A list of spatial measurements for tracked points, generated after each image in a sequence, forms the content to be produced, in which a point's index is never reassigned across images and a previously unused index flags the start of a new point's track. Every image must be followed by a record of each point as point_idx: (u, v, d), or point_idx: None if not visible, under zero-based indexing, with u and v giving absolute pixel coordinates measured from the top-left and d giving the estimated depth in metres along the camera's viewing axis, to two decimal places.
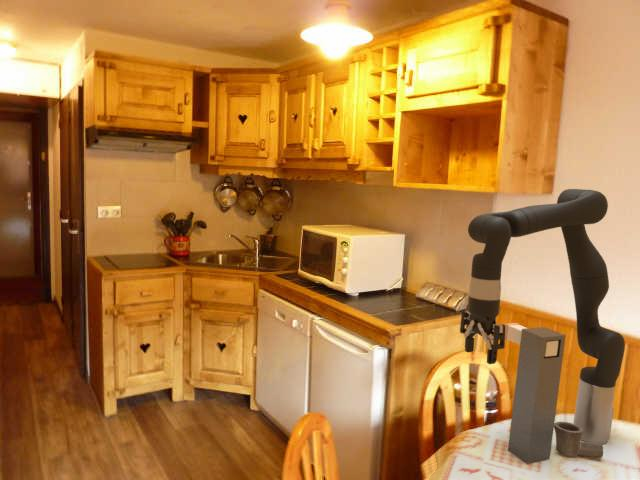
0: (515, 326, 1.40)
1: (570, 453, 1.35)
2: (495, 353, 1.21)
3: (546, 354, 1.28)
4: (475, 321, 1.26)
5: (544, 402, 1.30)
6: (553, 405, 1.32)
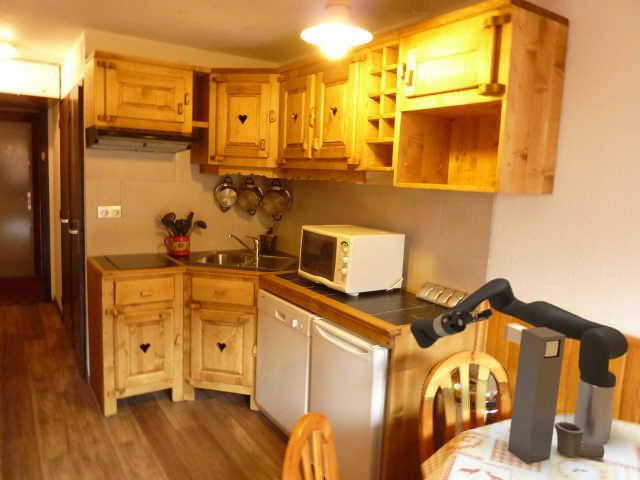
0: (515, 326, 1.40)
1: (571, 453, 1.35)
2: (460, 314, 1.54)
3: (546, 354, 1.28)
4: (465, 323, 1.61)
5: (544, 402, 1.30)
6: (553, 405, 1.32)
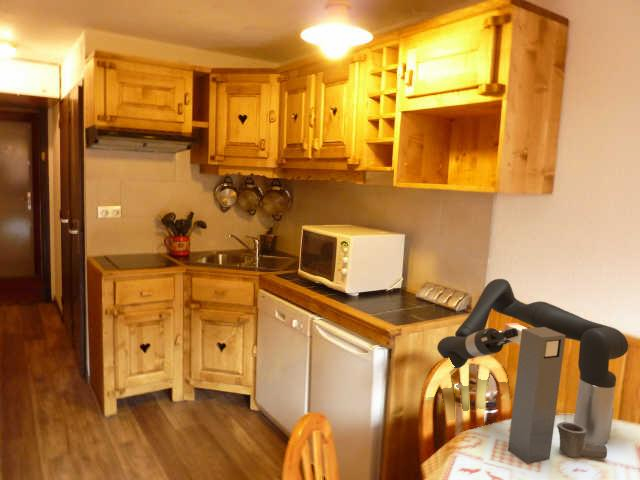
0: (515, 326, 1.40)
1: (574, 453, 1.35)
2: (506, 333, 1.39)
3: (546, 354, 1.28)
4: (502, 343, 1.46)
5: (544, 402, 1.30)
6: (553, 405, 1.32)
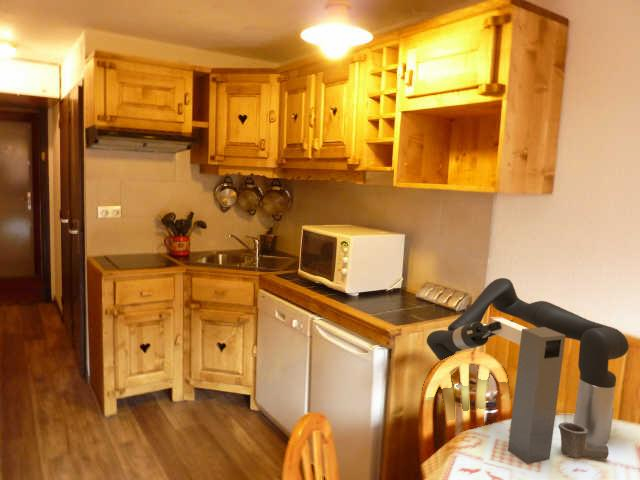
0: (499, 319, 1.46)
1: (575, 453, 1.35)
2: (490, 326, 1.45)
3: None
4: None
5: (544, 402, 1.30)
6: (553, 405, 1.32)
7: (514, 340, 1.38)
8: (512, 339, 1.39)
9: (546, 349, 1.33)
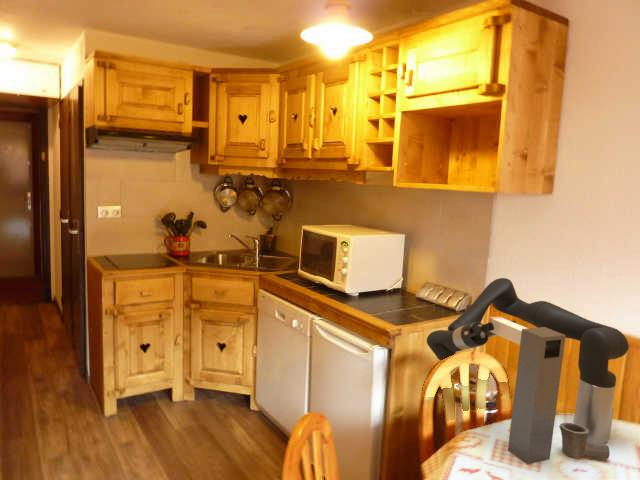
0: (499, 319, 1.46)
1: (576, 454, 1.35)
2: (483, 327, 1.45)
3: None
4: (487, 336, 1.52)
5: (544, 402, 1.30)
6: (553, 405, 1.32)
7: (514, 340, 1.38)
8: (512, 339, 1.39)
9: (546, 349, 1.33)
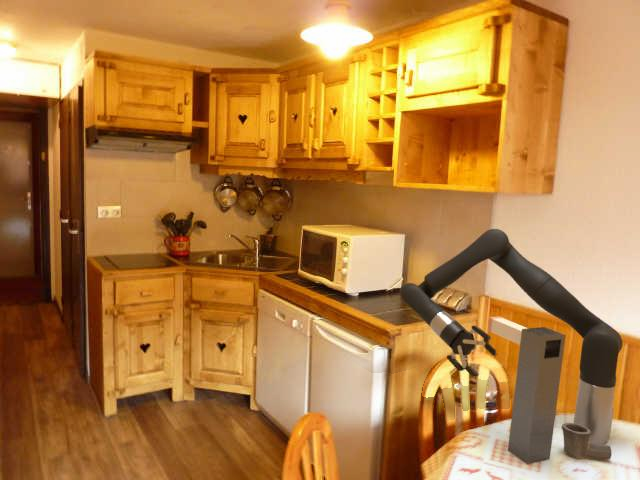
0: (499, 319, 1.46)
1: (578, 454, 1.35)
2: None
3: None
4: None
5: (544, 402, 1.30)
6: (553, 405, 1.32)
7: (514, 340, 1.38)
8: (512, 339, 1.39)
9: (546, 349, 1.33)
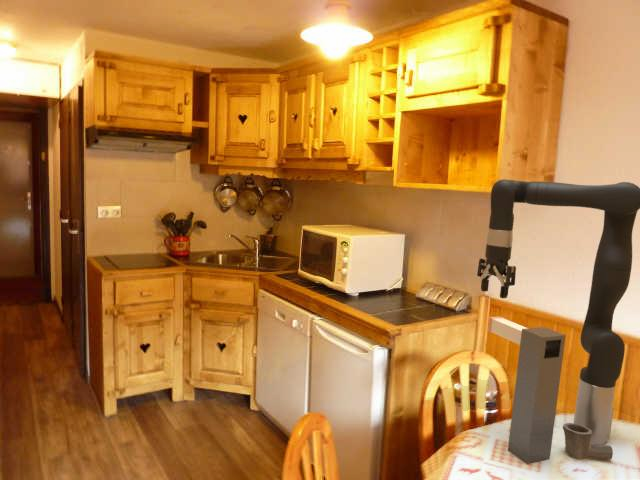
0: (499, 319, 1.46)
1: (580, 454, 1.35)
2: None
3: None
4: None
5: (544, 402, 1.30)
6: (553, 405, 1.32)
7: (514, 340, 1.38)
8: (512, 339, 1.39)
9: (546, 349, 1.33)
